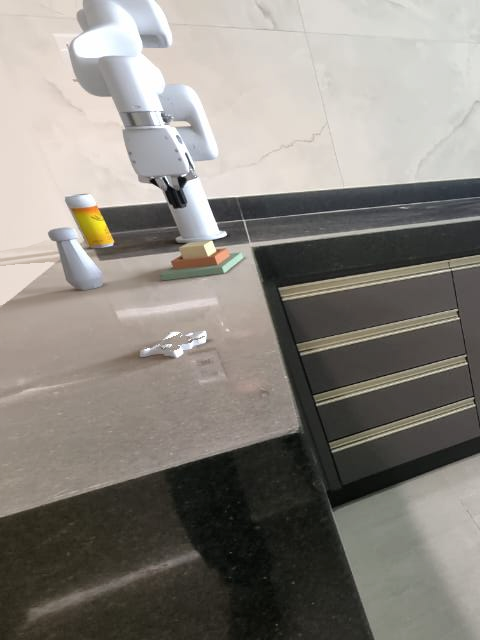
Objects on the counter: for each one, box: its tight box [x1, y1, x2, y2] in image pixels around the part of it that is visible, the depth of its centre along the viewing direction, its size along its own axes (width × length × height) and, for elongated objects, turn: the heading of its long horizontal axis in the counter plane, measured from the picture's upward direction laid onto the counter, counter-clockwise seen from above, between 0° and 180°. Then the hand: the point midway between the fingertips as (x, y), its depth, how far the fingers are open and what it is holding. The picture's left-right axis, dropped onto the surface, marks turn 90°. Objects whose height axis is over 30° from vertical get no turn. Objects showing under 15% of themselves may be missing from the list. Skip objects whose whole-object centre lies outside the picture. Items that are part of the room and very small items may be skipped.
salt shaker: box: [47, 226, 104, 291], centre depth 114 cm, size 6×6×13 cm
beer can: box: [64, 193, 115, 249], centre depth 156 cm, size 6×6×15 cm
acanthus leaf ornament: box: [139, 330, 207, 359], centre depth 82 cm, size 8×7×2 cm
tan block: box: [178, 240, 217, 259], centre depth 127 cm, size 6×5×4 cm
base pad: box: [159, 247, 244, 282], centre depth 128 cm, size 16×12×4 cm
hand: (180, 207), depth 123 cm, fingers closed
